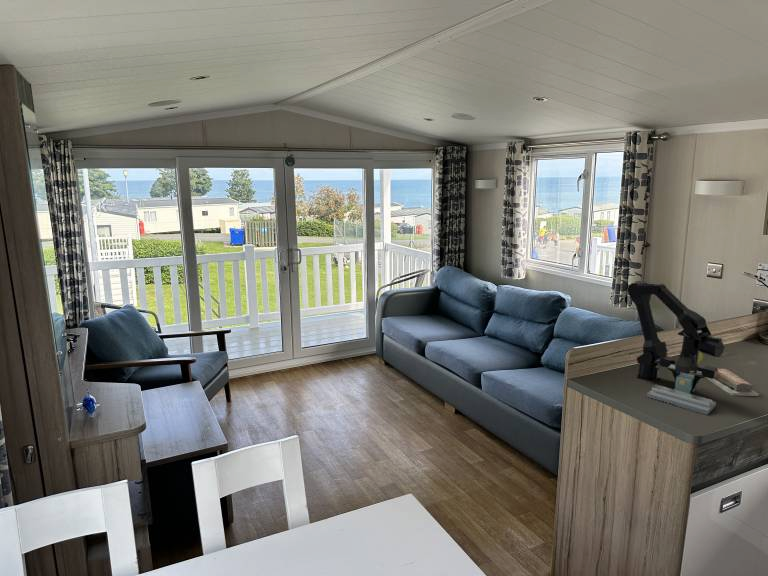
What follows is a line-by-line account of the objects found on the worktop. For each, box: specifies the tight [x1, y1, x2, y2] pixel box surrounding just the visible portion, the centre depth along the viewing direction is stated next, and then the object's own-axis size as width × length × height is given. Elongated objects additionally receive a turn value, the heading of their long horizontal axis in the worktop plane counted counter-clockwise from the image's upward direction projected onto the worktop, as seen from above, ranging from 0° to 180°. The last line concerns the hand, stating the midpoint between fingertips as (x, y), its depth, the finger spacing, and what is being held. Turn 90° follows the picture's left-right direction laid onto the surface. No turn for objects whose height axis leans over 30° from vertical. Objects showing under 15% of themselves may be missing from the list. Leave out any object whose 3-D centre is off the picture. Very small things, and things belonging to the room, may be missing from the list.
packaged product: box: [704, 368, 759, 397], centre depth 209 cm, size 18×5×10 cm
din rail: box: [651, 384, 714, 407], centre depth 194 cm, size 19×4×2 cm, turn 44°
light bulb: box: [690, 352, 704, 373], centre depth 223 cm, size 7×7×10 cm
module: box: [674, 372, 696, 394], centre depth 203 cm, size 5×8×6 cm, turn 134°
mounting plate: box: [646, 389, 717, 415], centre depth 194 cm, size 20×10×2 cm, turn 44°
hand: (684, 388), depth 203 cm, fingers closed on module, 5 cm apart
